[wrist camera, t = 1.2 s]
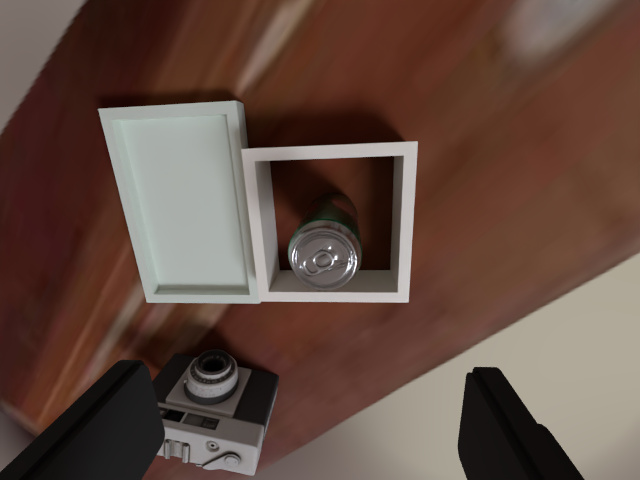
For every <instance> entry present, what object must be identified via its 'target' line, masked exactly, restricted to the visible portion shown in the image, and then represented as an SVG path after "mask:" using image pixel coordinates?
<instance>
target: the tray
mask: <svg viewBox="0 0 640 480" xmlns="http://www.w3.org/2000/svg"><path fill="white" fill-rule="evenodd" d="M98 110H99V114H100V118H101V122H102V126H103V130H104V134H105V138H106V142H107V146H108V150H109V154H110V158H111V162H112V166H113V170H114V174H115V178H116V182H117V186H118V190H119V194H120V198H121V202H122V206H123V209H124V213H125V217H126V221H127V225H128V229H129V233H130V237H131V241H132V245H133V249H134V253H135V257H136V261H137V265H138V269H139V273H140V277H141V281H142V285H143V289H144V293H145V297H146V301H147V302H150V303H261V301H259V295H258V287H257V278H256V270H255V262H254V253H253V245H252V236H251V228H250V220H249V211H248V203H247V194H246V186H245V178H244V169H243V161H242V152H241V149H248V139H247V130H246V121H245V112H244V103H241V102H238V101H222V102H205V103H188V104H171V105H154V106H137V107H120V108H103V109H98Z"/></svg>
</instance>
